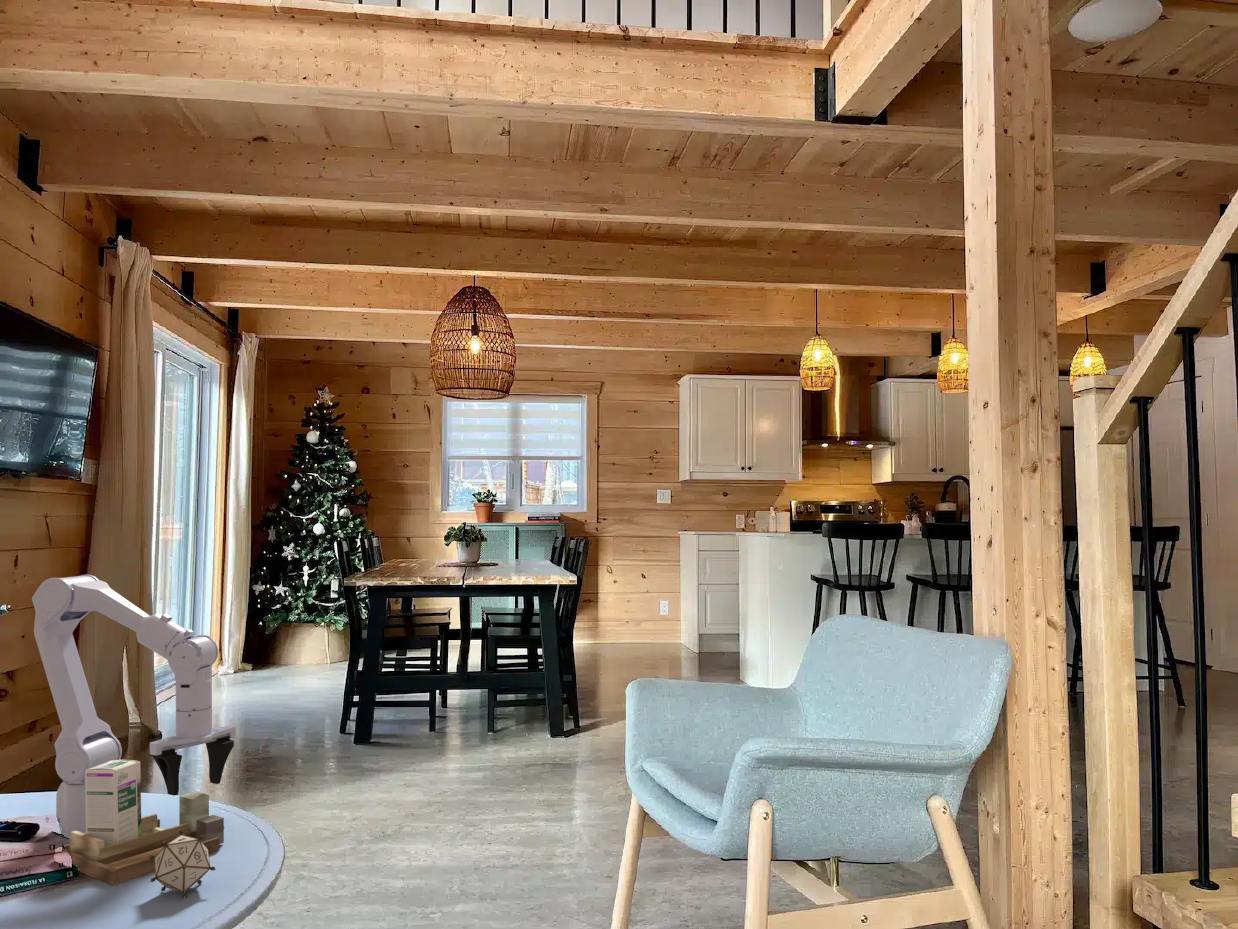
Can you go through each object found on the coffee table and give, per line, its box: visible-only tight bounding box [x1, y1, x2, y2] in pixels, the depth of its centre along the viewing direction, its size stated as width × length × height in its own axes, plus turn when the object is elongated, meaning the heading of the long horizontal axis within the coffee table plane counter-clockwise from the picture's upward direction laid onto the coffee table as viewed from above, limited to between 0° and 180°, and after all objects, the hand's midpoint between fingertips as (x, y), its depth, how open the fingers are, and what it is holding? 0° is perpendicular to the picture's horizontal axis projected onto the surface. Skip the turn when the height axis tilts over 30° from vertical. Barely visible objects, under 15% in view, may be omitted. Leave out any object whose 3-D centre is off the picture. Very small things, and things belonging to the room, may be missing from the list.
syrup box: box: [85, 759, 142, 847], centre depth 151 cm, size 6×6×14 cm
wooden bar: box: [107, 814, 225, 869], centre depth 149 cm, size 5×17×4 cm, turn 144°
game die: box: [149, 829, 217, 899], centre depth 135 cm, size 9×8×10 cm
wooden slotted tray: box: [68, 791, 210, 861], centre depth 155 cm, size 10×20×6 cm, turn 145°
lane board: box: [63, 818, 220, 886], centre depth 150 cm, size 18×17×2 cm
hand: (194, 788), depth 162 cm, fingers open, 7 cm apart
